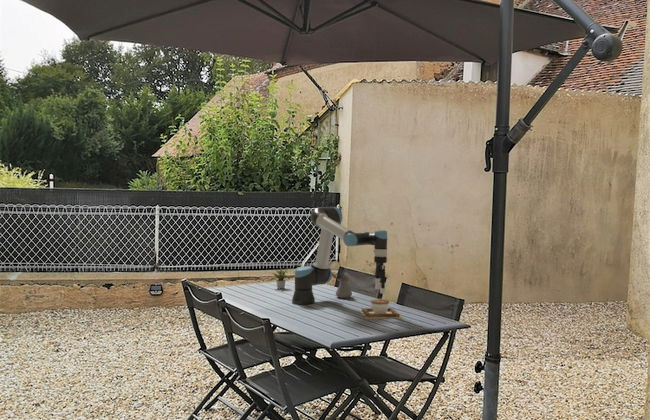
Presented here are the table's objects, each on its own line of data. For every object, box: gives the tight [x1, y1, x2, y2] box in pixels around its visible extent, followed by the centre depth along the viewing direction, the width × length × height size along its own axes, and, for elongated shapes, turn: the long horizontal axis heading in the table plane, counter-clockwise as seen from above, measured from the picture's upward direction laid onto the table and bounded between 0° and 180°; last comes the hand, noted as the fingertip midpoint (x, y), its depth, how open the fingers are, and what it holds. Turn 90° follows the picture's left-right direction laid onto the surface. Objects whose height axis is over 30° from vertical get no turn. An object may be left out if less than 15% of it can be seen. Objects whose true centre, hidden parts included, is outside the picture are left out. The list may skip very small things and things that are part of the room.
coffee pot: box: [332, 273, 353, 299], centre depth 405 cm, size 21×12×15 cm, turn 33°
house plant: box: [271, 267, 289, 289], centre depth 438 cm, size 14×14×16 cm
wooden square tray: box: [358, 307, 403, 320], centre depth 347 cm, size 22×22×2 cm
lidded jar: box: [370, 297, 390, 314], centre depth 347 cm, size 11×11×9 cm
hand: (379, 291), depth 347 cm, fingers open, 13 cm apart
